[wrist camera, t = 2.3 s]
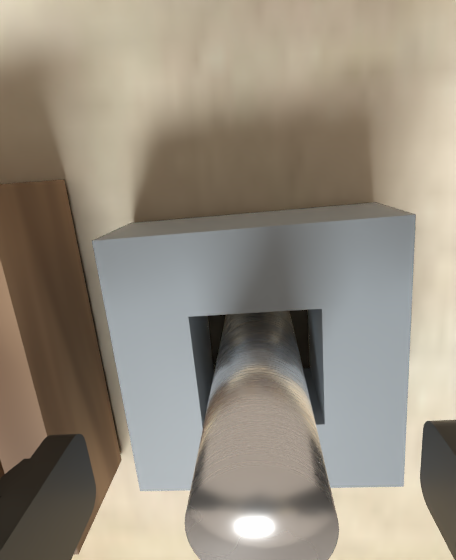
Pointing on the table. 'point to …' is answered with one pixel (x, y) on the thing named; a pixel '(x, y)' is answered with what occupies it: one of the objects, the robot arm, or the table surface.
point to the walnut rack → (49, 336)
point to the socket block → (265, 298)
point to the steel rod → (260, 453)
